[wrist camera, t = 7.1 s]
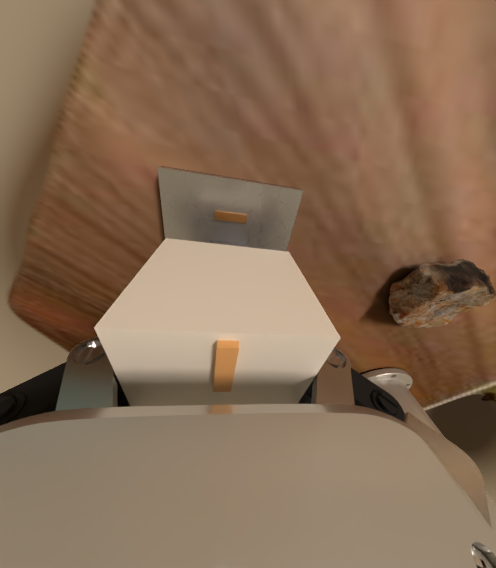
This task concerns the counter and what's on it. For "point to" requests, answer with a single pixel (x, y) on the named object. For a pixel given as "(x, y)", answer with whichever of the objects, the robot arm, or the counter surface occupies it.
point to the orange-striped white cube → (216, 328)
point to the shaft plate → (226, 209)
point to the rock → (439, 293)
